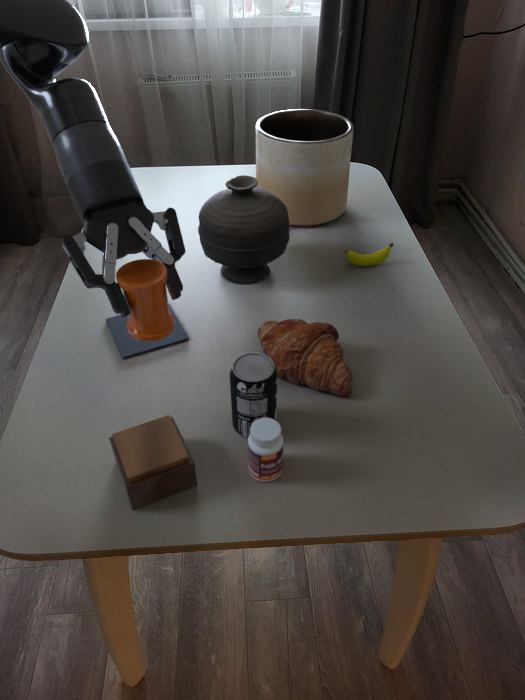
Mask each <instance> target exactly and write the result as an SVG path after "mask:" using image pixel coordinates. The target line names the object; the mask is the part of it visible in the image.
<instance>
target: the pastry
mask: <svg viewBox="0 0 525 700" xmlns="http://www.w3.org/2000/svg"><path fill="white" fill-rule="evenodd" d="M256 334H257V337H258V341H259V344H260V346H261V349H262V351H263V354H265V355H267V356H268V357H270V358H271V359H272V361H273V363H274V367H275V368H276V370H277V379H280V380H283V381H286V382H288V383H290V384H293V385H295V386H304V387H309V388H310V389H312V390H314V391H321V392H325V393H328V394H332V395H334V396H335V397H341V398H347V397H350V395H351V394H352V384H353V371H352V369H351V368H350V367H349V366H348V364H347V363H346V362H345V360H344V348H343V347H342V346H341V343H339V342H338V340H339V338H340V335H339V330H338V329H337V328H336V327H335V326H334V325H333V324H331V323H328V322H321V321H319V322H315V321H314V322H310V323H308V322H307V321H305V320H303V319H300V318H286V319H282V320H280V321H277V320H266V321H264V322H263V323H262V324H261V325H260V326H259V327H258V328H257V332H256Z"/></svg>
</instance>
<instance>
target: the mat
mask: <svg viewBox="0 0 525 700" xmlns="http://www.w3.org/2000/svg"><path fill="white" fill-rule="evenodd" d="M168 304H169V311H170V313H171V314H172V315H173V317H174V322H175V326H174V329H173V331H172V332H171V333H170V334H169V335H168V336H166V337H165V338H162V339H160V340H156V341H150V342H145V341H139V340H136V339H134V338H133V337H131V336H130V335H129V333H128V330H127V321H128V319H129V318H128V316H126V317H122V316H121V314H116V315H113V316H111V317H106V318H105V322H106V324H107V326H108V329H109V331H110V333H111V336H112V338H113V340H114V342H115V346H116V347H117V349H118V352H119V355H120V357H121V358H122V360H126V359H129V358H133V357H136V356H137V357H138V356H141V355H143V354H147V353H150V352H153V351H157V350H160V349H163V348H168V347H170V346H173V345H177V344H180V343H184V342H187V341H190V337H189V334H188V333H187V331H186V330H185V328H184V327H183V325H182V322H180V320H179V318H178V317H177V315H176V313H175V311H174V310H173V308H172V307H171V305H170V303H169V302H168Z"/></svg>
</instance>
